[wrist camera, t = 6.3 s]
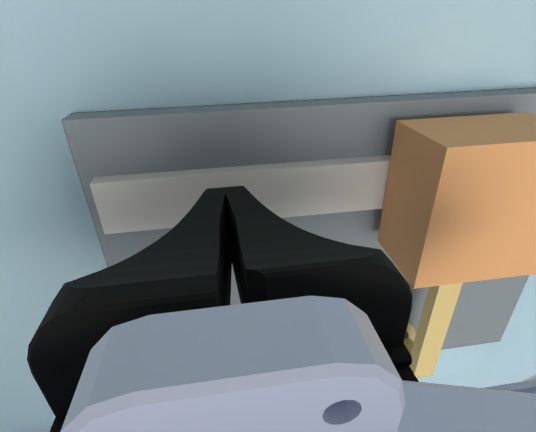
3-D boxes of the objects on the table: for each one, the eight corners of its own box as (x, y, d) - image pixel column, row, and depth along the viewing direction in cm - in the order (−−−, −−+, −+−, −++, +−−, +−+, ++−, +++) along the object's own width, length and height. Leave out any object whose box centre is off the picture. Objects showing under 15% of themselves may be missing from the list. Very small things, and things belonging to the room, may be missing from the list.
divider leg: (357, 357, 18) (383, 416, 16) (394, 119, 12) (447, 147, 9) (446, 345, 19) (485, 399, 16) (524, 111, 13) (609, 135, 10)
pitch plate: (150, 374, 19) (142, 420, 17) (71, 113, 12) (41, 133, 10) (488, 328, 21) (519, 363, 19) (586, 85, 14) (654, 96, 12)
